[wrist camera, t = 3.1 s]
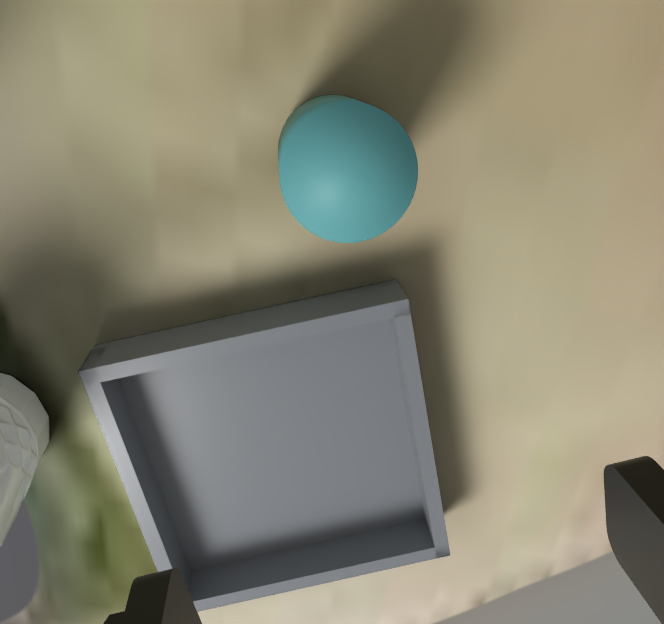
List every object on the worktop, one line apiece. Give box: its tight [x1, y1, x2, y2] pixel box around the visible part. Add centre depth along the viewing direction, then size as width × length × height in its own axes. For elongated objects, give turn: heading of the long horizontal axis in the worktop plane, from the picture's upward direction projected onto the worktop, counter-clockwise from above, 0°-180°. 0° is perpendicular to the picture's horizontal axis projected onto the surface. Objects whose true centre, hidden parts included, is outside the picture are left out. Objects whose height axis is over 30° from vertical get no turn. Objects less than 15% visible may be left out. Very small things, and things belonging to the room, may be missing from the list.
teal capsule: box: [278, 95, 418, 243], centre depth 27 cm, size 5×5×7 cm
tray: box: [78, 279, 450, 612], centre depth 34 cm, size 16×16×3 cm
